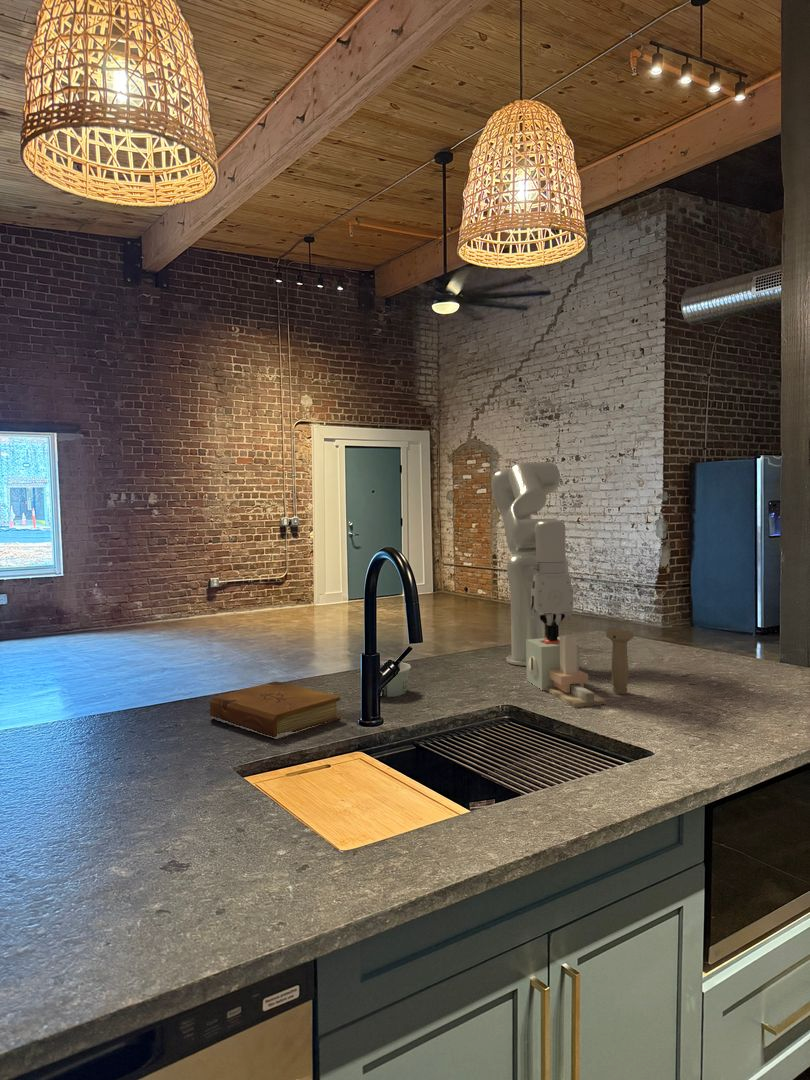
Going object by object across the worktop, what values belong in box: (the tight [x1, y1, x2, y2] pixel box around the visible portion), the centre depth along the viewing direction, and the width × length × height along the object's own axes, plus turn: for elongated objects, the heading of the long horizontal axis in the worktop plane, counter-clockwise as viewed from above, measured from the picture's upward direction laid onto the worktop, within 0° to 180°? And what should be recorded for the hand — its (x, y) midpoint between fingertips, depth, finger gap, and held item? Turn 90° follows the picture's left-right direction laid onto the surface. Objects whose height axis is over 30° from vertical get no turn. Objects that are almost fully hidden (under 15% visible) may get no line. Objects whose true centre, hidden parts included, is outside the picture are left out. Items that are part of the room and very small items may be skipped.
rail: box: [546, 684, 607, 709], centre depth 180 cm, size 16×8×3 cm, turn 13°
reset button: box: [544, 639, 560, 644], centre depth 193 cm, size 4×4×3 cm
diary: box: [209, 680, 342, 737], centre depth 169 cm, size 23×19×6 cm
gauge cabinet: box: [525, 636, 580, 691], centre depth 193 cm, size 10×11×11 cm
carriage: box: [549, 633, 589, 693], centre depth 183 cm, size 7×7×13 cm
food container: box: [380, 661, 412, 698], centre depth 190 cm, size 12×12×6 cm
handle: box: [605, 629, 634, 695], centre depth 183 cm, size 5×6×15 cm
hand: (551, 639), depth 192 cm, fingers closed
